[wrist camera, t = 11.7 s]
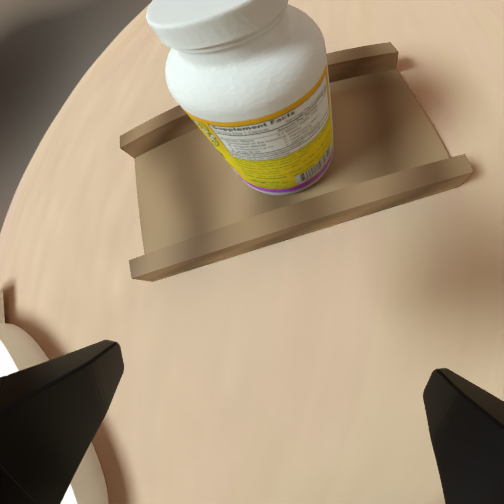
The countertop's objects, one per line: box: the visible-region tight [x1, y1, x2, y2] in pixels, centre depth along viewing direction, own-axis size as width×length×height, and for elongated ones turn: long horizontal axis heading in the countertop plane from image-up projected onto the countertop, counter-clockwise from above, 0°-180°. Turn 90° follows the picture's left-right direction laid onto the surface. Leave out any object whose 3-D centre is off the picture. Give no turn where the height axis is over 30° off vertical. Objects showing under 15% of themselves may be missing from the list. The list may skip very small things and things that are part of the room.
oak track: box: [120, 42, 474, 282], centre depth 18 cm, size 22×11×2 cm, turn 105°
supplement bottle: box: [146, 0, 333, 195], centre depth 12 cm, size 7×7×13 cm
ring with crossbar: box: [0, 289, 108, 504], centre depth 20 cm, size 28×28×5 cm
